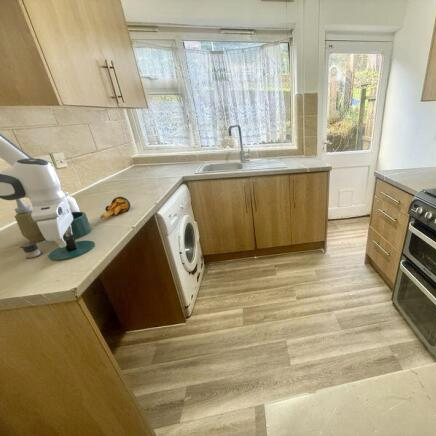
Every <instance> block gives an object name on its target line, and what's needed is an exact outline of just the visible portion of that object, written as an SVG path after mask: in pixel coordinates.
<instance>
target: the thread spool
mask: <svg viewBox="0 0 436 436" xmlns="http://www.w3.org/2000/svg"><path fill="white" fill-rule="evenodd" d="M37 243H38V242H36V241H26V242H23V243H21V244H20V245H19V248H20V249H22V250H23V252H24V254H25V256H26V257H25V259H26V260H32V259H36V258H38V257H41V256H42V255H43V252H41V251H40V249H39V247H38V245H37Z"/></svg>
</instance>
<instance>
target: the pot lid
mask: <svg viewBox="0 0 436 436" xmlns="http://www.w3.org/2000/svg"><path fill="white" fill-rule="evenodd" d="M64 241H66V243H67V245H66V247H63V248H60V247H59V246H58V247H57V248H55V249H53V250H52V251H50V252H49V253H48V255H47V257H48V259H49V260H51V261H55V262H56V261H57V262H59V261H66V260H71V259H74V258H77V257H80V256H83V255H86V254H87V253H89V252H91V251H92V250H93V249H94V248H95V247H96V242H95V241H93V240H79V241H76V239H74V238H73V237H67V238H64Z"/></svg>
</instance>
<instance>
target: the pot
mask: <svg viewBox="0 0 436 436" xmlns="http://www.w3.org/2000/svg"><path fill="white" fill-rule="evenodd" d="M71 213H72V215H73V221H72V223H71V229H72V233H73V235H72V236H71V237H73V238H74V240H77V238H78V239H81V238H83V237H85V236H87V235H88V234H90V233H91V232H92V227H91V223H90V221H89V219H88V217H87V214H86V213H85V212H84V211H80V212H71ZM64 238H67V237H66V235H65V234H64V235H63V239H64Z"/></svg>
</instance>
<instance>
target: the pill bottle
mask: <svg viewBox="0 0 436 436" xmlns="http://www.w3.org/2000/svg"><path fill="white" fill-rule="evenodd" d="M63 193H64V194H65V196H66V199H67V201H68V204H69V206H70V208H69V209H70V211H71V212H81V210H80V208H79V206H78V204H77V201H76V199H75V198H74V197H72V196H70V194H69V192H68V191H63Z"/></svg>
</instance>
